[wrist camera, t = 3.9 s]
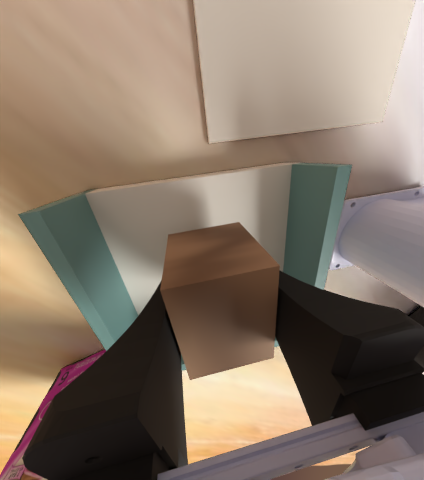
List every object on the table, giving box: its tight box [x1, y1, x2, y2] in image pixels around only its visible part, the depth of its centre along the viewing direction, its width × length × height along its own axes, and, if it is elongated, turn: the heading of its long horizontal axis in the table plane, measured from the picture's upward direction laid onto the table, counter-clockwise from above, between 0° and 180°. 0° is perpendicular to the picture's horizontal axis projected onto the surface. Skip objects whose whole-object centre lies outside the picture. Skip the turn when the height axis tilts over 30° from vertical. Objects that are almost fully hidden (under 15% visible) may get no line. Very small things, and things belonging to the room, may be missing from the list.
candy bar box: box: [0, 350, 106, 480], centre depth 13 cm, size 11×5×16 cm, turn 113°
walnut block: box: [160, 222, 280, 380], centre depth 10 cm, size 4×6×5 cm
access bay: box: [18, 162, 352, 370], centre depth 14 cm, size 16×14×6 cm
